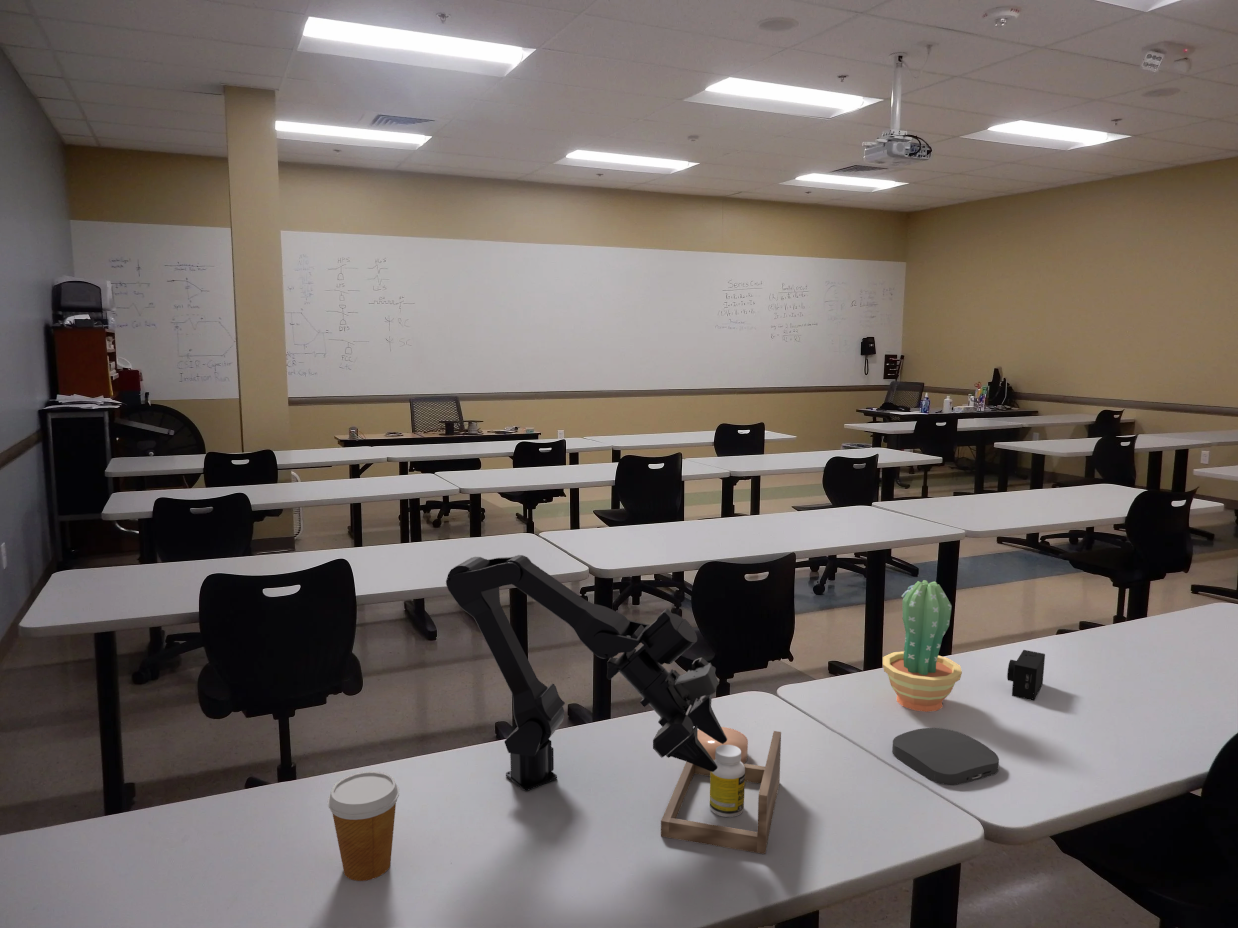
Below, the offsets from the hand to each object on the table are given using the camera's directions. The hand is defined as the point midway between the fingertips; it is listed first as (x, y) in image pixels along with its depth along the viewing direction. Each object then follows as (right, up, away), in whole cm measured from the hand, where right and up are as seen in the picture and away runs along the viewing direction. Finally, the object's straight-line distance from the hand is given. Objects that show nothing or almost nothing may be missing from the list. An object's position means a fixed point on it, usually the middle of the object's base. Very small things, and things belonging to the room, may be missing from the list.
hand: (720, 755), depth 131 cm
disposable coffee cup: (-51, -11, -14) cm, 54 cm away
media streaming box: (+41, -7, +16) cm, 45 cm away
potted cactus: (+45, -3, +40) cm, 60 cm away
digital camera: (+70, -2, +46) cm, 84 cm away
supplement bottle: (+1, -9, +1) cm, 9 cm away
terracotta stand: (+2, -6, +18) cm, 19 cm away
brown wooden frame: (+1, -9, +1) cm, 9 cm away
